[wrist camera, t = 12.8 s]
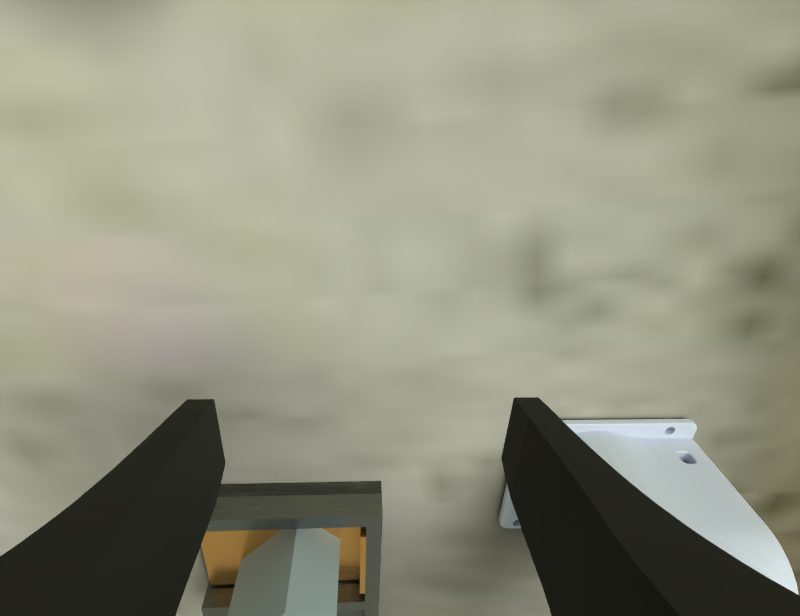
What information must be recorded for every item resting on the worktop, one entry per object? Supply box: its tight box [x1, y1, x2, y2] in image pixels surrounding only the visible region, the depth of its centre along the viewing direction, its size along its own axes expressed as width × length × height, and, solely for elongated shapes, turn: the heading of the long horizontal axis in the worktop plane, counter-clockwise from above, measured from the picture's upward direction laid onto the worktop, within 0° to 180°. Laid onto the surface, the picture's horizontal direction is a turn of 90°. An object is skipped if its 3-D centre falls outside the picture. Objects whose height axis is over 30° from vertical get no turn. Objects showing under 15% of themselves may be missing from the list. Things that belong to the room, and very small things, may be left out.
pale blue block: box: [228, 528, 340, 616], centre depth 24 cm, size 3×5×5 cm, turn 134°
